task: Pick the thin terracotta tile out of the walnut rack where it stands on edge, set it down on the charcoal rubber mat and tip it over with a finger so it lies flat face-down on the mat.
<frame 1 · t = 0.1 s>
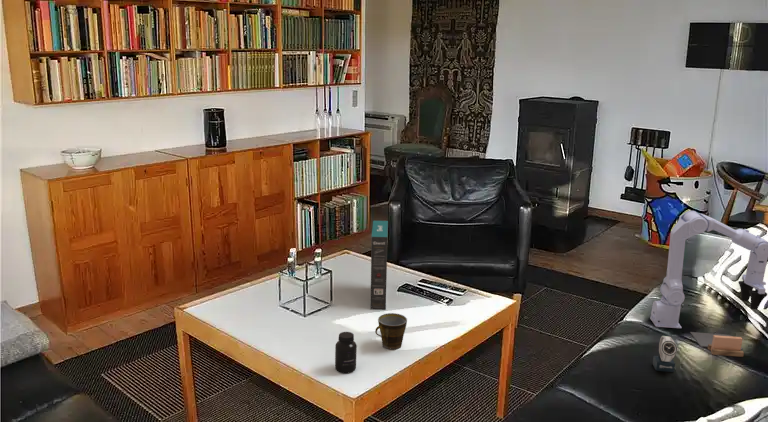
hand: (749, 304, 234), 10 cm above the table, tool pointing down, fingers open, 7 cm apart
watch: (663, 368, 207), on the table
tile: (725, 352, 218), on the table
cake mix box: (378, 298, 258), on the table
rack: (725, 352, 218), on the table
supplement bottle: (345, 369, 202), on the table
mat: (715, 341, 227), on the table
ceramic cup: (388, 347, 217), on the table
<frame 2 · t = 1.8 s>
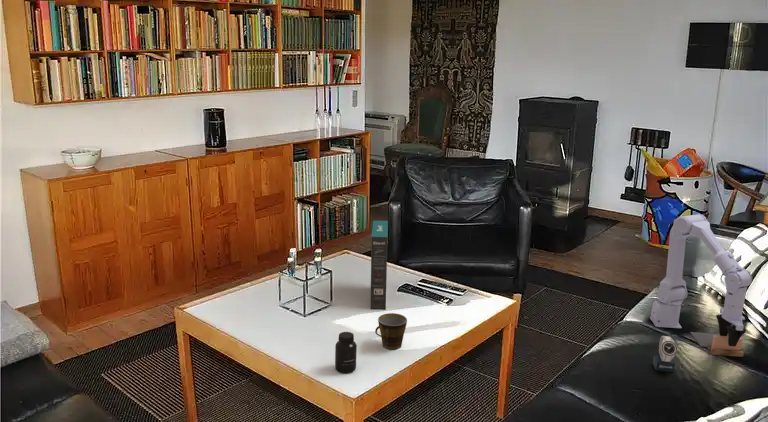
hand: (727, 340, 217), 5 cm above the table, tool pointing down, fingers open, 7 cm apart
nothing on the table moved.
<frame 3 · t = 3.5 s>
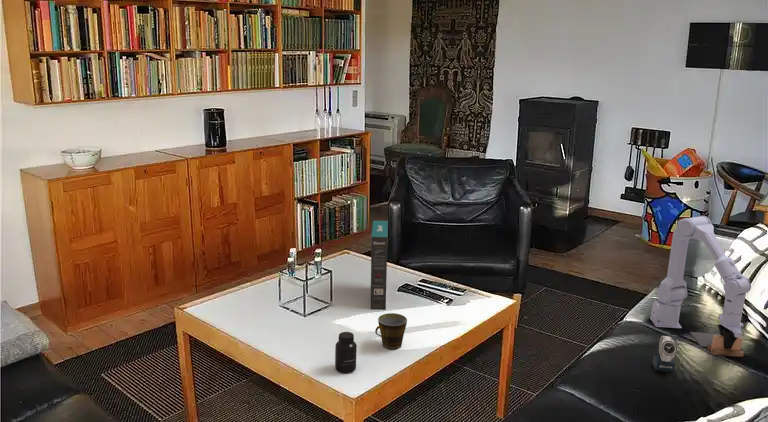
hand: (726, 347, 218), 2 cm above the table, tool pointing down, fingers closed on tile, 1 cm apart
tile: (725, 352, 218), on the table, touching gripper
everything else where it was.
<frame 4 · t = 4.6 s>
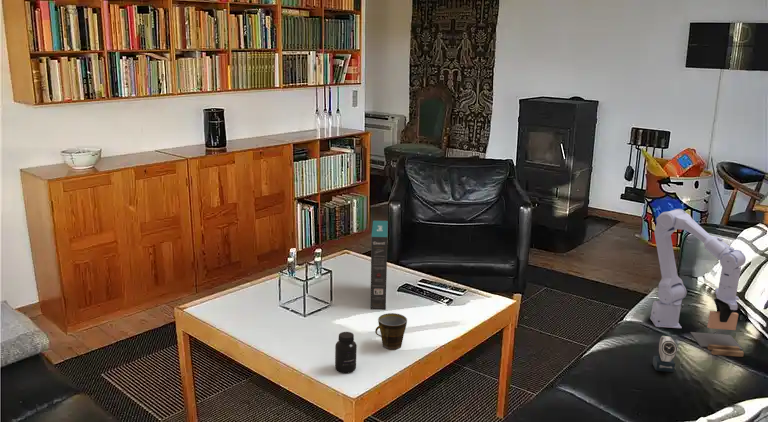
hand: (722, 320, 222), 9 cm above the table, tool pointing down, fingers closed on tile
tile: (721, 328, 223), point 6 cm above the table, touching gripper
everything else where it was.
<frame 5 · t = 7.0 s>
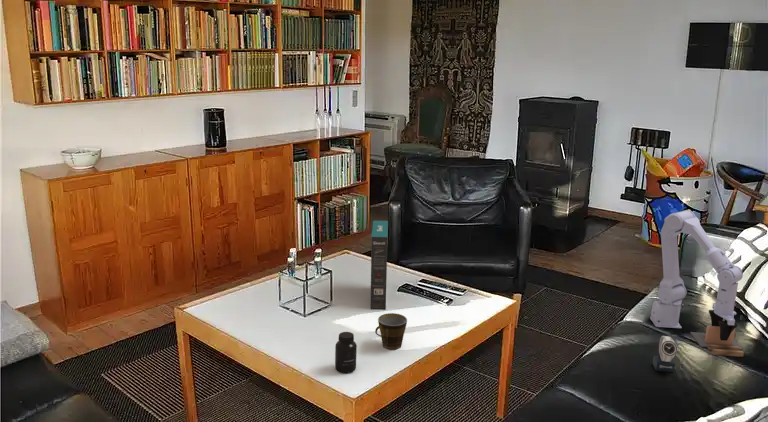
hand: (719, 335, 224), 3 cm above the table, tool pointing down, fingers open, 7 cm apart
tile: (718, 342, 225), resting on mat
everything else where it was.
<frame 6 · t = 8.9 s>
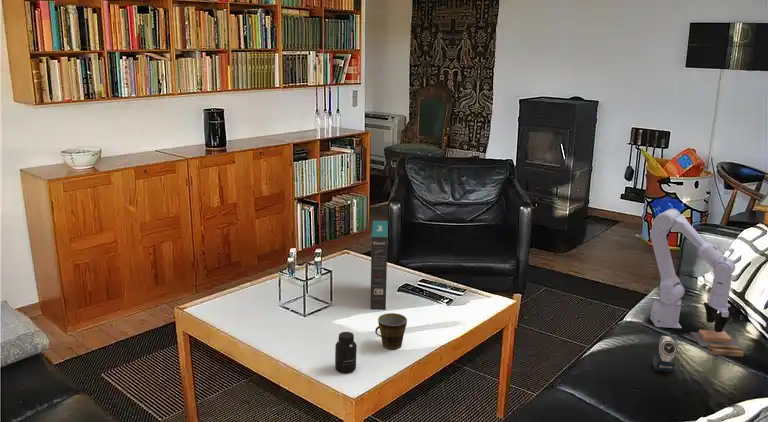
hand: (713, 327, 229), 4 cm above the table, tool pointing down, fingers open, 7 cm apart
tile: (717, 339, 225), point 1 cm above the table, tilted 90°, touching mat
everything else where it was.
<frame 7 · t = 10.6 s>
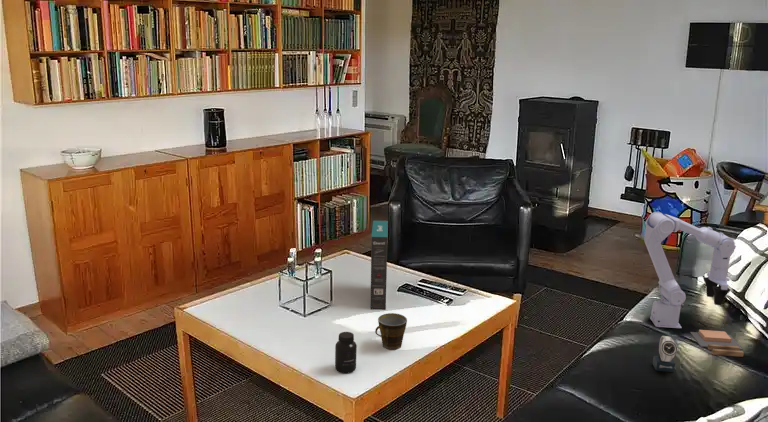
hand: (713, 300, 237), 10 cm above the table, tool pointing down, fingers open, 7 cm apart
nothing on the table moved.
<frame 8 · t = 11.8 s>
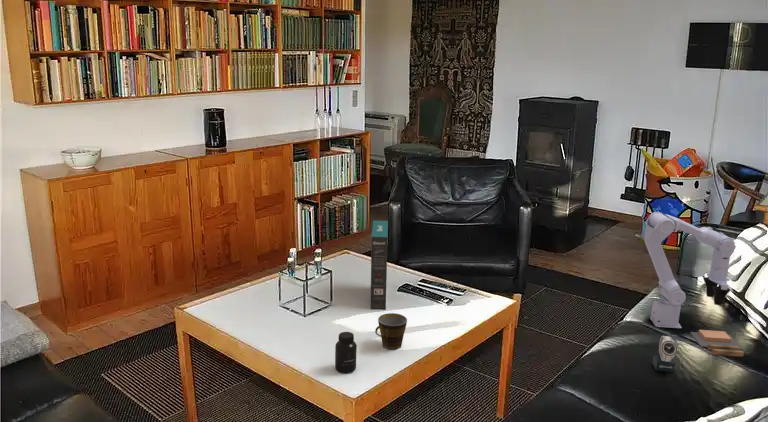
hand: (713, 300, 237), 10 cm above the table, tool pointing down, fingers open, 7 cm apart
nothing on the table moved.
at the end: tile tilted 90°; tile 1.2 cm from the mat (horizontally); the gripper is holding nothing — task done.
